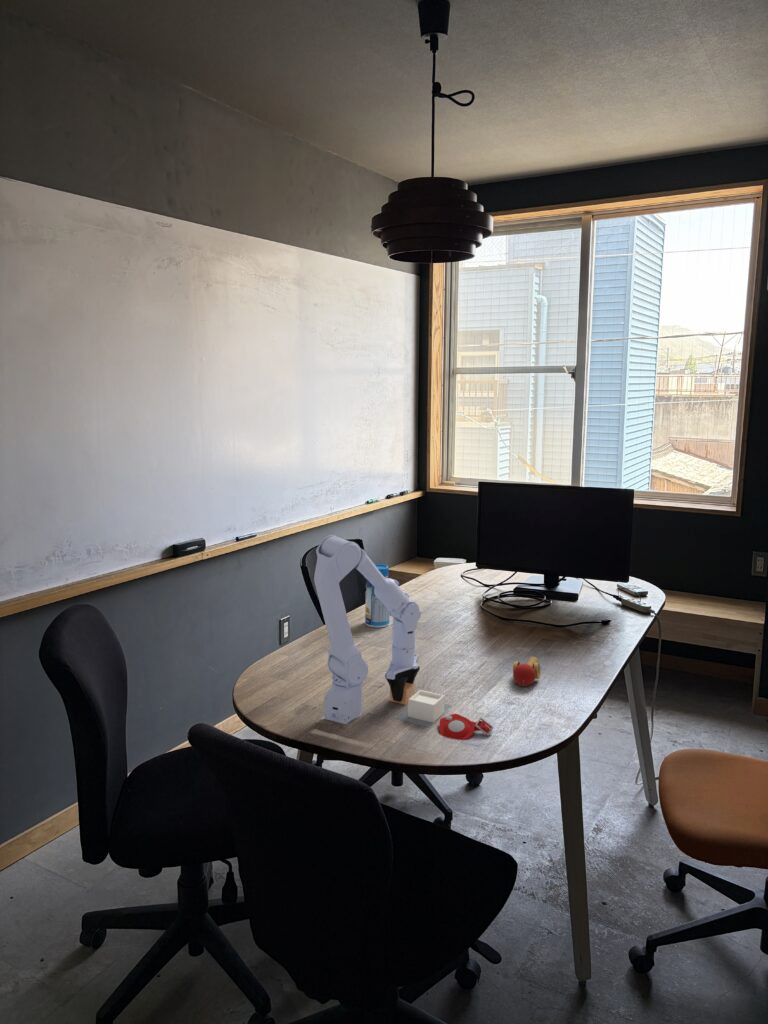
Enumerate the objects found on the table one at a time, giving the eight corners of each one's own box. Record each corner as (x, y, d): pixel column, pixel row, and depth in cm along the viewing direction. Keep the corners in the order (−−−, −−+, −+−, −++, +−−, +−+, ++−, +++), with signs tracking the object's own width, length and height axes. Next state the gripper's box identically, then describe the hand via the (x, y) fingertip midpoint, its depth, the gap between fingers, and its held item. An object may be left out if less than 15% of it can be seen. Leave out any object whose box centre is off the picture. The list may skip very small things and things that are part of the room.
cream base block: (433, 722, 179) (433, 705, 178) (408, 716, 182) (408, 699, 181) (444, 712, 185) (444, 695, 184) (419, 706, 188) (420, 689, 187)
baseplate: (429, 730, 177) (429, 727, 177) (394, 721, 181) (394, 718, 181) (452, 708, 189) (452, 705, 189) (419, 701, 193) (419, 698, 193)
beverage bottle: (381, 630, 249) (382, 570, 245) (359, 625, 253) (360, 566, 250) (394, 623, 256) (396, 565, 252) (373, 619, 260) (374, 562, 257)
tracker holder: (448, 743, 169) (429, 715, 177) (450, 758, 171) (431, 730, 179) (496, 724, 172) (475, 698, 181) (497, 739, 174) (476, 712, 183)
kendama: (516, 669, 221) (505, 682, 204) (522, 648, 220) (511, 660, 204) (542, 678, 219) (533, 692, 202) (548, 657, 218) (539, 669, 201)
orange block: (406, 707, 189) (406, 690, 188) (389, 703, 191) (390, 686, 190) (413, 701, 193) (414, 684, 192) (397, 697, 195) (398, 680, 194)
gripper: (405, 657, 181) (403, 710, 184) (429, 640, 194) (428, 690, 196) (379, 652, 185) (377, 704, 187) (405, 635, 197) (403, 685, 200)
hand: (401, 697), depth 192 cm, fingers closed on orange block, 5 cm apart
